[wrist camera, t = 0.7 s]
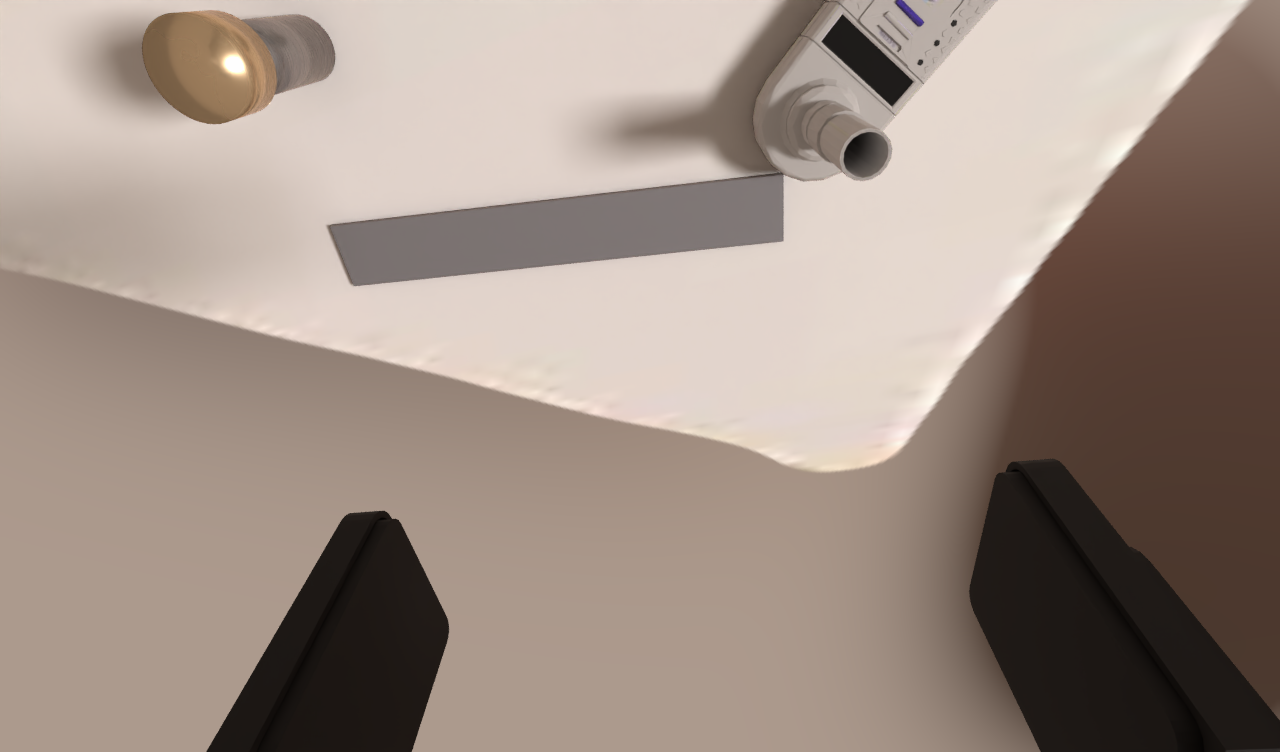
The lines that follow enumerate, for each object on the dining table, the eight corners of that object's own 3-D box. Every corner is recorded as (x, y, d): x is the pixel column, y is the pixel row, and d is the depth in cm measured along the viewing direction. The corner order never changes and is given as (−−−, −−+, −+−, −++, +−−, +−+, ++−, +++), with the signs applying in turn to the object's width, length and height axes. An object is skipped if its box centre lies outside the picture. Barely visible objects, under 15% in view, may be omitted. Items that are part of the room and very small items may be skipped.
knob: (251, 10, 28) (121, 20, 22) (325, -2, 28) (217, 5, 21) (284, 95, 30) (175, 129, 23) (355, 85, 30) (265, 117, 23)
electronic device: (1266, -162, 17) (863, 258, 24) (1065, -108, 25) (808, 190, 32) (1155, -324, 16) (756, 172, 22) (980, -210, 24) (728, 125, 30)
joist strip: (332, 224, 34) (329, 226, 33) (782, 172, 31) (783, 174, 31) (356, 284, 35) (353, 286, 35) (782, 239, 33) (783, 241, 33)
